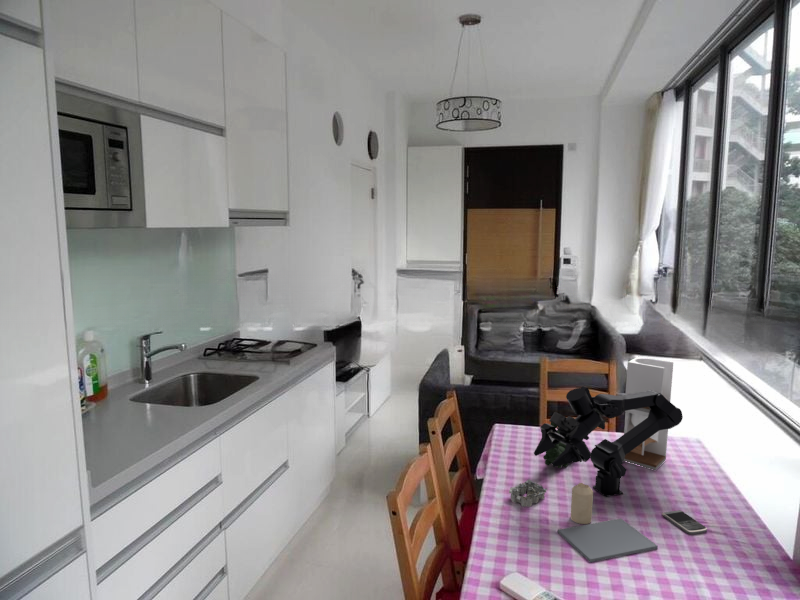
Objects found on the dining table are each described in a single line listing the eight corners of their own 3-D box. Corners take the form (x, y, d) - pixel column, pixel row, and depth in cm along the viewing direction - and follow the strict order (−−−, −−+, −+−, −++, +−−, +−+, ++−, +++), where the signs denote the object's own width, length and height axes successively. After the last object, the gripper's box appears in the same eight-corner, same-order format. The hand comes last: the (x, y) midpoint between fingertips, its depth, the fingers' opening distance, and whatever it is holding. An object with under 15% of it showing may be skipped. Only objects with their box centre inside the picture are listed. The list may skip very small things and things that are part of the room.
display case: (620, 461, 199) (627, 362, 194) (632, 451, 207) (638, 356, 202) (655, 470, 191) (663, 368, 186) (665, 460, 199) (673, 362, 194)
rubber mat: (620, 521, 159) (620, 518, 159) (657, 548, 146) (657, 545, 146) (557, 532, 153) (557, 529, 153) (590, 562, 140) (590, 559, 140)
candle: (567, 514, 163) (569, 481, 161) (586, 513, 163) (588, 480, 162) (575, 525, 157) (577, 490, 156) (594, 524, 158) (596, 489, 156)
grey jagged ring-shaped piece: (526, 509, 166) (526, 496, 165) (506, 499, 171) (506, 486, 171) (549, 498, 172) (549, 485, 172) (528, 489, 178) (529, 476, 178)
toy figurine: (562, 481, 187) (589, 450, 206) (563, 427, 183) (590, 400, 202) (535, 473, 192) (563, 444, 212) (535, 420, 188) (564, 395, 208)
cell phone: (689, 537, 153) (689, 532, 152) (660, 516, 163) (660, 511, 163) (708, 533, 154) (709, 529, 154) (678, 513, 165) (679, 508, 165)
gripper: (551, 397, 176) (513, 429, 173) (590, 413, 159) (549, 449, 155) (567, 425, 179) (530, 456, 176) (608, 444, 162) (567, 480, 158)
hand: (543, 459), depth 166 cm, fingers open, 9 cm apart
